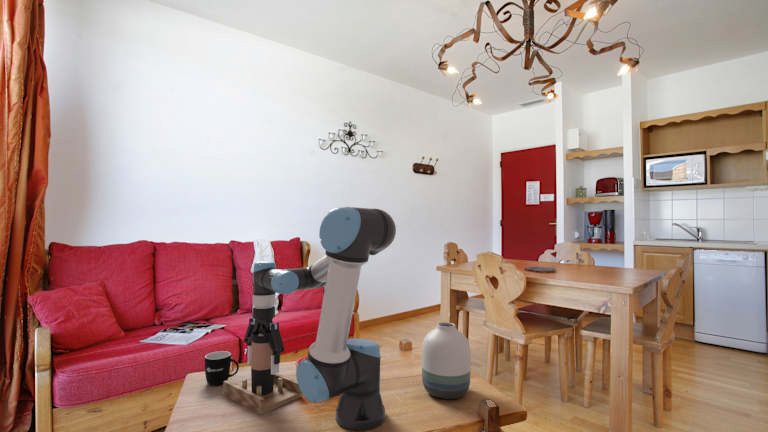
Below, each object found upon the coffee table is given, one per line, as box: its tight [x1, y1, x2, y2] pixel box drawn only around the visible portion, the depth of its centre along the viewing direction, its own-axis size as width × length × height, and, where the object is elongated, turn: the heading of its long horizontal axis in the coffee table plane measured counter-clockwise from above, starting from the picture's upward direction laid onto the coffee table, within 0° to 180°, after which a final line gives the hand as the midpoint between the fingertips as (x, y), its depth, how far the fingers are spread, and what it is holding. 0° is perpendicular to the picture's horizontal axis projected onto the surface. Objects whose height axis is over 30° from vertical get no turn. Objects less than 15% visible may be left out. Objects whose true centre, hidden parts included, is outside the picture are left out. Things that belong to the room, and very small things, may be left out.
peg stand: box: [222, 373, 303, 416], centre depth 129 cm, size 22×16×6 cm
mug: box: [204, 350, 240, 387], centre depth 140 cm, size 12×9×10 cm
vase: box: [421, 321, 471, 400], centre depth 134 cm, size 17×17×24 cm
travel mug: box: [250, 332, 274, 396], centre depth 129 cm, size 8×8×20 cm
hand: (262, 368), depth 130 cm, fingers open, 13 cm apart
